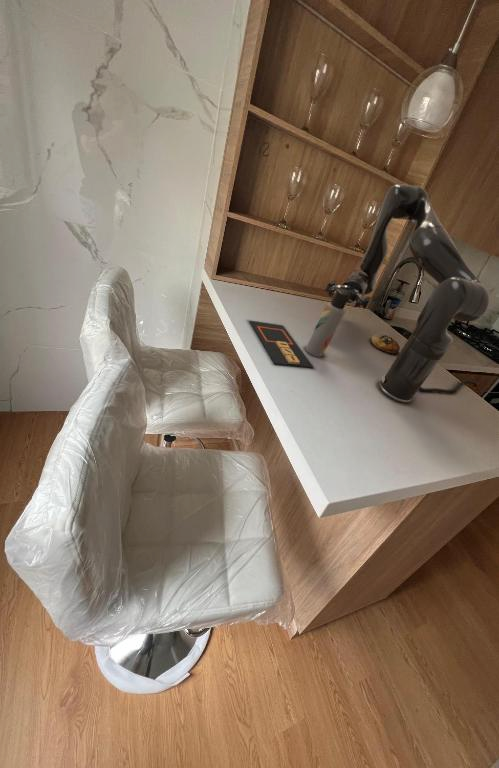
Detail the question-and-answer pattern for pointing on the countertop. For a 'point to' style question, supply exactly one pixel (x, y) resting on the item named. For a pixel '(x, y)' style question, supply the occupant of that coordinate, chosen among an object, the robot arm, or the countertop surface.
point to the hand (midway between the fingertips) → (343, 298)
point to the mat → (280, 345)
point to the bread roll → (385, 343)
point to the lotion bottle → (328, 323)
